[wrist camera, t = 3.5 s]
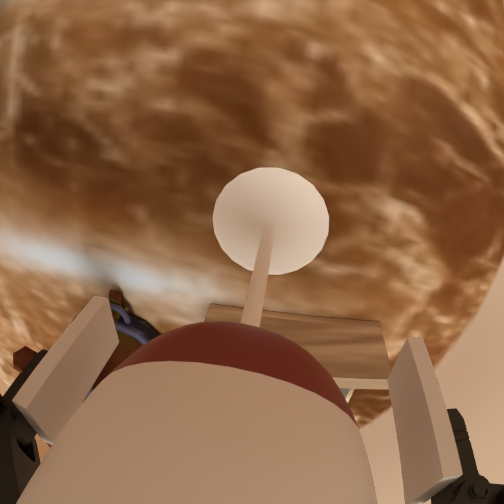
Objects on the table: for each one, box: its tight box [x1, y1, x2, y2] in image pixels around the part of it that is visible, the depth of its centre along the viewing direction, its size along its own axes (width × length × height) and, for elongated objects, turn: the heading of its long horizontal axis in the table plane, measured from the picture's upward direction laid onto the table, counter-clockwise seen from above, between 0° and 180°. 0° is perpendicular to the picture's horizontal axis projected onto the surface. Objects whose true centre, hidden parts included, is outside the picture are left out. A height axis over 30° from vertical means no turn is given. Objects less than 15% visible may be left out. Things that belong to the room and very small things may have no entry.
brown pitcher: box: [13, 290, 159, 447], centre depth 24 cm, size 18×12×15 cm, turn 173°
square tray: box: [204, 304, 391, 403], centre depth 28 cm, size 16×15×7 cm
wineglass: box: [16, 168, 377, 504], centre depth 13 cm, size 9×10×23 cm
